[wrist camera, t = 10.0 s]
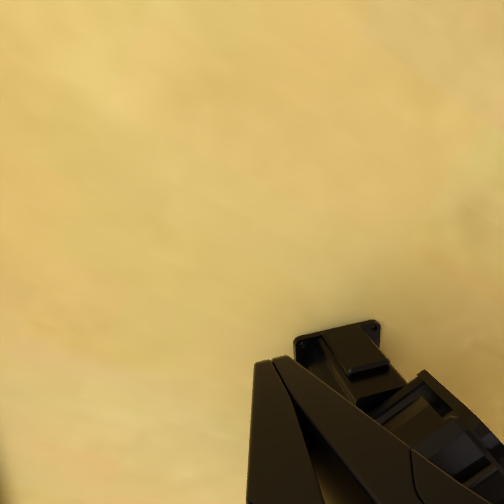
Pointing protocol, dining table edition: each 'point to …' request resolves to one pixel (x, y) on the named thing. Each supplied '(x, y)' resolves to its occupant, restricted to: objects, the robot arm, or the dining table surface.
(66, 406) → the dining table surface
